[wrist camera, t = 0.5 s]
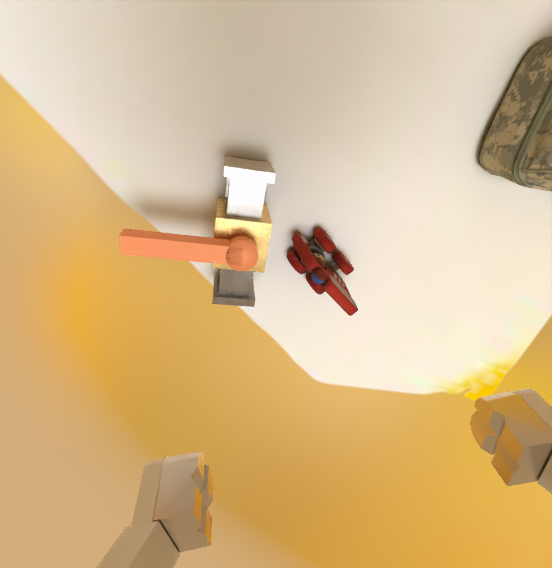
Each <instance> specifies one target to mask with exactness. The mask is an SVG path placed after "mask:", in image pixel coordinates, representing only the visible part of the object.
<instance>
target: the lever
mask: <svg viewBox="0 0 552 568" xmlns="http://www.w3.org/2000/svg"><path fill="white" fill-rule="evenodd" d="M119 242H120V254H121V255H132V256H143V257H153V258H164V259H175V260H186V261H196V262H207V263H218V264H228V265H229V266H230V267H231V268H232V269H234V270H236V271H247V270H250V269H251V268H253V267H254V266H255V265H256V263H257V261H258V250H257V246H256V243H255V242H254V241H253V240H252V239H251V238H249V237H246V236H237V237H234V238H232V239H231V240H227V239H217V238H208V237H198V236H189V235H179V234H170V233H160V232H150V231H141V230H132V229H123V230H122V232H121V233H120V235H119Z"/></svg>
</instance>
